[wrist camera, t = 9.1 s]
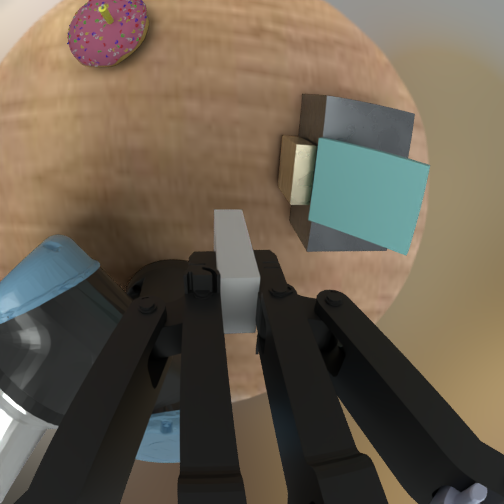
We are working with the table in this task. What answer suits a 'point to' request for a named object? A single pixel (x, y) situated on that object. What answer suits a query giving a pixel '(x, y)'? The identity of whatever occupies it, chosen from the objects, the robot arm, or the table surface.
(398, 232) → the teal rectangular plate
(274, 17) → the table surface
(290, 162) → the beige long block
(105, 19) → the cupcake
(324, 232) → the grey block
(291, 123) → the table surface
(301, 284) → the table surface
